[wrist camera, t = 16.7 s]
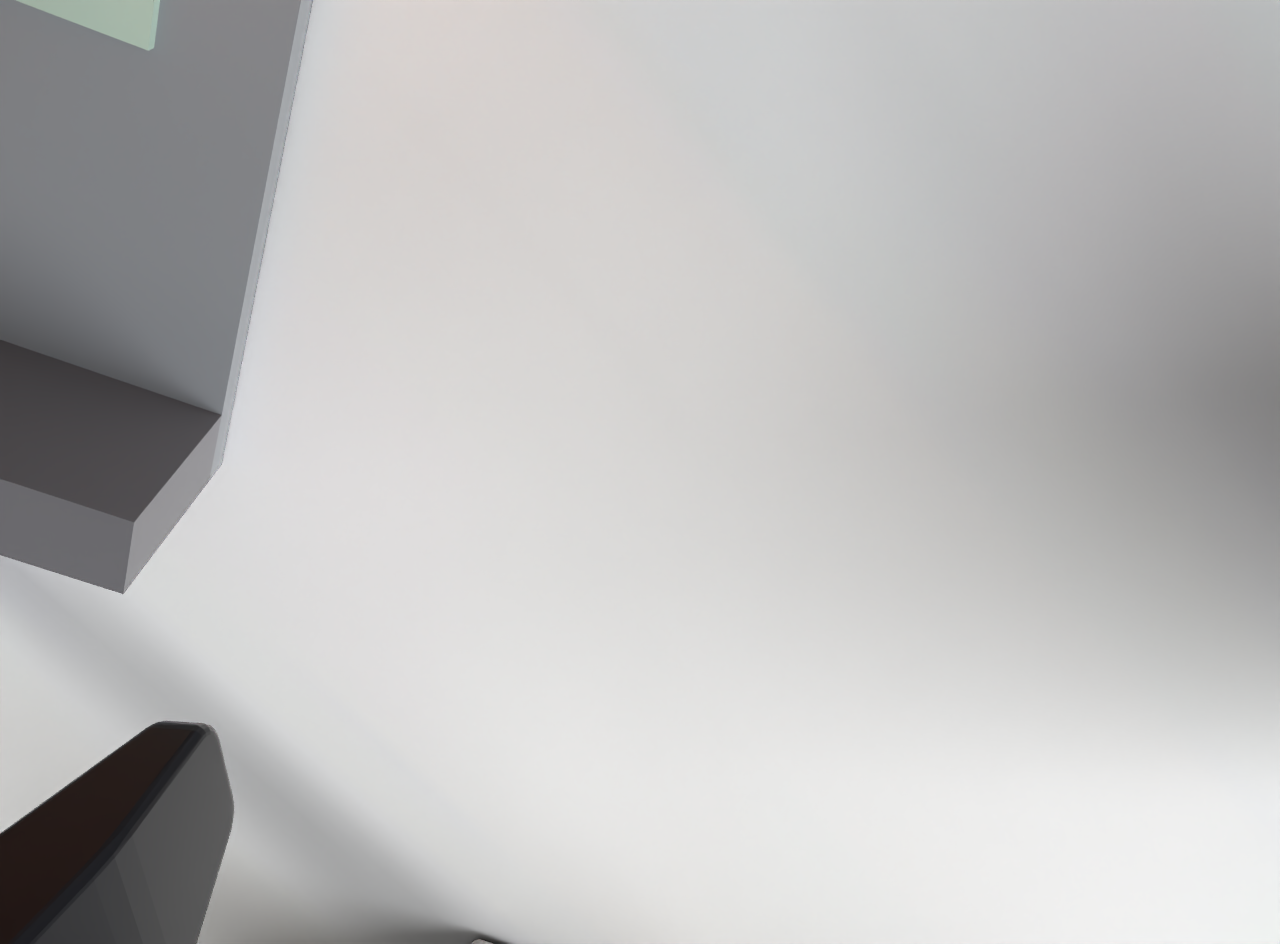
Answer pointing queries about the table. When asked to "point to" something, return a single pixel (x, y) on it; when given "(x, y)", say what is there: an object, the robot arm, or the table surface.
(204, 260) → the tray
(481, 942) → the coffee box
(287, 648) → the table surface
